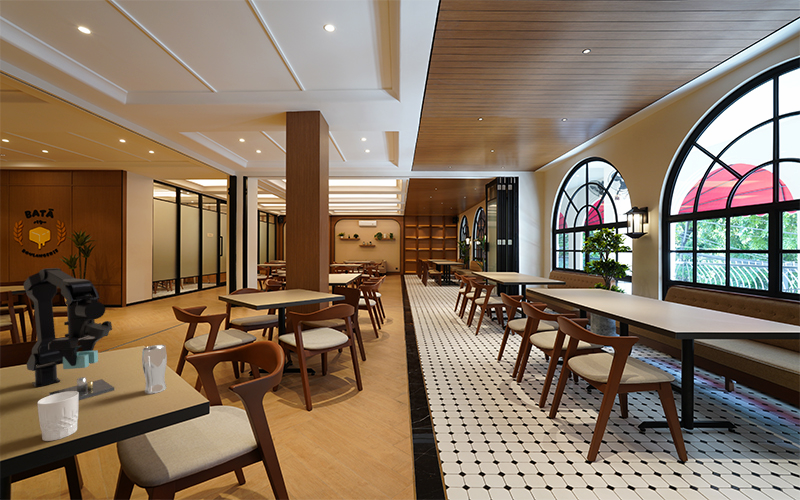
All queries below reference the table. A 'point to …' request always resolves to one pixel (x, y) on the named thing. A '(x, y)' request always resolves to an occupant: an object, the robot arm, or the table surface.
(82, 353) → the teal u-channel block
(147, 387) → the beer glass
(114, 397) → the table surface
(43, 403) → the white cup
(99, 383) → the base plate
